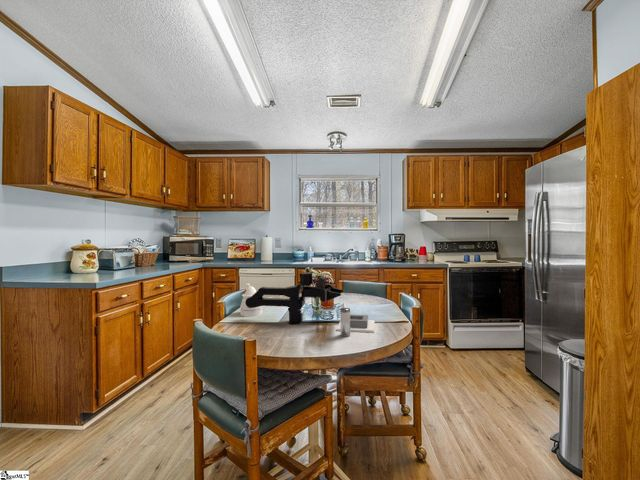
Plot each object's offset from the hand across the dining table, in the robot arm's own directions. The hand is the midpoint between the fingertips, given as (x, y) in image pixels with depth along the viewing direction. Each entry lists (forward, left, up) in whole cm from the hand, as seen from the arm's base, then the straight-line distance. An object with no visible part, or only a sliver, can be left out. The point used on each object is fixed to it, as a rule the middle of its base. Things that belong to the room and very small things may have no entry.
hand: (341, 292), depth 170 cm
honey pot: (-56, +14, -17) cm, 61 cm away
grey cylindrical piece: (+4, -18, -17) cm, 25 cm away
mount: (+8, -3, -16) cm, 18 cm away
